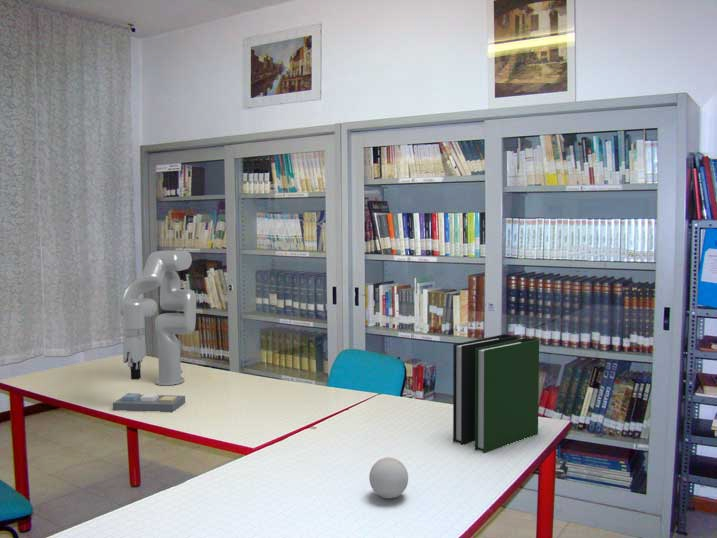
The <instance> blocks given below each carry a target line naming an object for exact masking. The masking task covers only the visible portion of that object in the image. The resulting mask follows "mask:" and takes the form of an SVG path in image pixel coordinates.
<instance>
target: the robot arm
mask: <svg viewBox="0 0 717 538" xmlns="http://www.w3.org/2000/svg"><path fill="white" fill-rule="evenodd" d="M192 262H193V259H192V255H191V253H190V252H189V251H188V250H172V249H171V250H157V251H154V252H151V253H150V254H149V255H148V258H147V261H146V263H145V266H144V268H143V271H142V273H141V276H140V277H139V278H137V279H136V280H134V281H133V282H132V283H130V285H128V286H126V288H125V289H124V291H123V293H122V295H121V299H120V300H119V305H118V306H119V307H118V310H119V313H120V315H121V316H122V317H123V337H124V339H123V346H122V348H123V349H122V361H123V363H124V364H127V367H129V370H130V379H131V380H140V379H141V378H142V377H141V376H142V375H141V372H142V371H141V368H142V362H143V361H144V359H145V357H146V343H145V333H146V332H145V331H146V330H145V318H150V317H153V316H155V314H156V313H157V311H158V304H157V301H155V299H153V298H148V297H147V298H145V297H143V298H138V297H139V296H140V295H142V294H145V293H148V292H151V291H153V290H155V289H157V288H159V287H160V290H159V293H160V294H159V305H160V308H161V309H162V310H165V311H183V313H179V312H178V313H177V312H169V313H168V312H167V313H166V312H165V313H161V314H159V315H157V316H156V318H155V321H154V326H155V331H156V336H157V351H158V352H157V353H158V355H157V358H158V378H157V379H156V380H155V384H156V385H157V384H158V386H176V385H180V384H183V383H184V382H185V377H183V376H182V373H183V371H184V370H183V369H181V368H182V365H181V344H180V343H181V342H180V340H179V338H178V337H177V336H176V335H190V334H193V333H195V332H194V331H195V330H196V323H197V321H196V320H197V296H196V293H195V291H193V290H192V289H186V288H185V289H181V278H180V276H179V274H178V272H180V271H185V270H188V269H189V268H190V267H191V265H192ZM182 382H183V383H182ZM175 384H176V385H175Z"/></svg>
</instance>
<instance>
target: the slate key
mask: <svg viewBox="0 0 717 538" xmlns="http://www.w3.org/2000/svg"><path fill="white" fill-rule="evenodd" d="M140 395H141V393H137V392H134V393H133V392H131V393H130V392H127V393H126V394H125V395H122V397H121V398H122V401H136V400H138V399H139V398H140Z"/></svg>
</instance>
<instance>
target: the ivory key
mask: <svg viewBox="0 0 717 538" xmlns="http://www.w3.org/2000/svg"><path fill="white" fill-rule="evenodd" d="M142 395H143V396H142V397H140V400H141V401H150V402H153V401H155V400H157V399H158V398H159V396H158V395H159V393H145V394H142Z"/></svg>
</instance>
